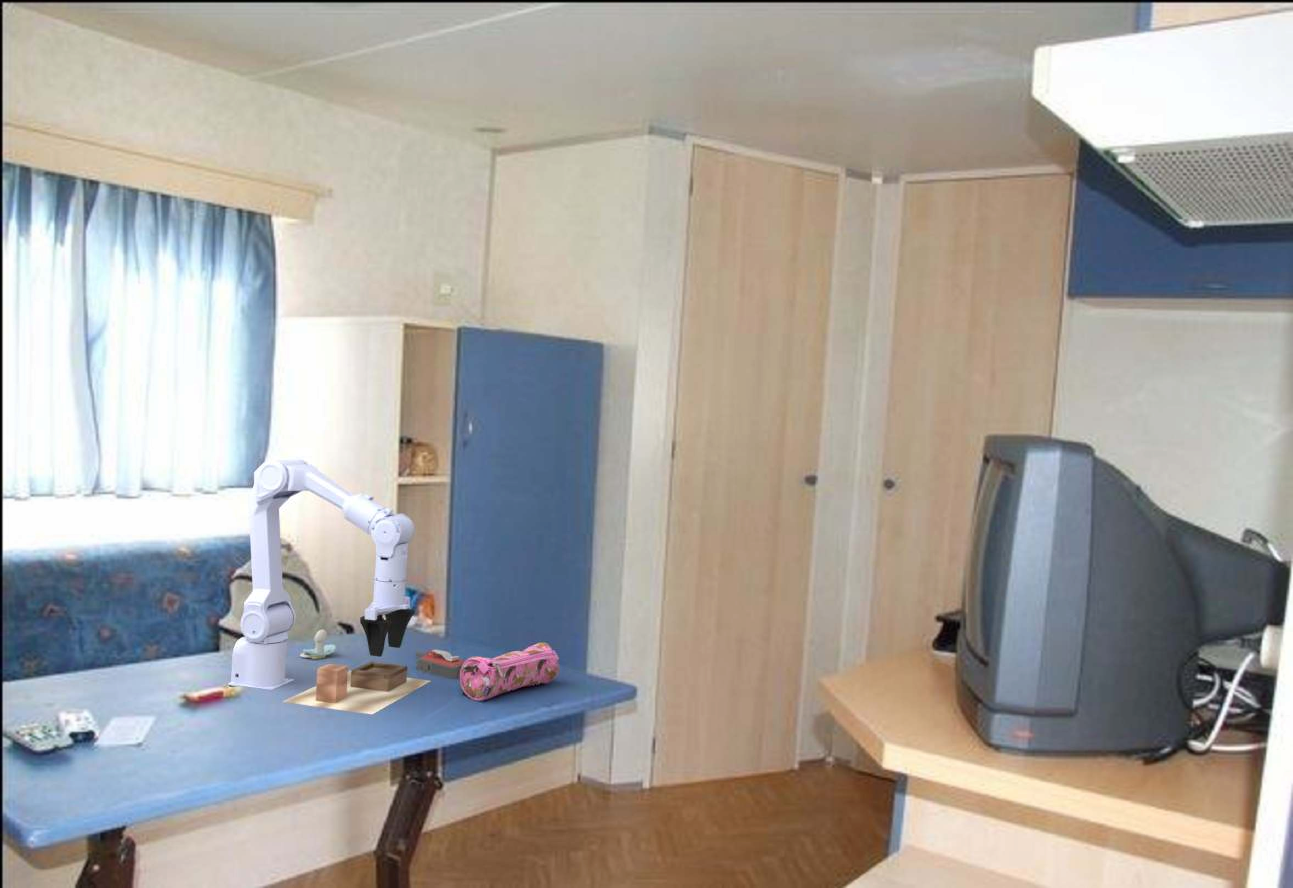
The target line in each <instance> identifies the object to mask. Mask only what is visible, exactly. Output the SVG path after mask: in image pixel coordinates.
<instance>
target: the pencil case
mask: <svg viewBox="0 0 1293 888" xmlns="http://www.w3.org/2000/svg"><path fill="white" fill-rule="evenodd" d="M559 660H560V658H559V656H558V654H557V653H556V651H555V650H553V649H552V647H551V646H550V645H549V644H548V643H547V642H538V643H535V644H534V645H531V646H527V648H525V649H520V650H514V651H510V652H507V653H504V654H501V655H498V656H496V657H493V658H490V657H484V656H483V657H482V656H478V655H476V656H471V657H469V658H468V659H466V660H464V661H465V662H464V664H463V665H462V667H461V670H460V679H459V684H460V688H461V690H462V692H463V693H464V694H465V695H466V696H467V697H468V698H469V699H471V700H473V701H476V700H477V701H476V702H482V701H484V700H490V699H491V698H494V697H496V696H500V695H502V694H504V693H507V692H512V691H515V690H517V689H520V688H523V687H532V686H535V684H536V685H541V684H540V683H545V684H548V683H550V682H552V681H553V680H554V679H556V678H557V676H558V675H559V673H560V663H559ZM531 685H532V686H531ZM511 690H512V691H511Z"/></svg>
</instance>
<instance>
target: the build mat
mask: <svg viewBox="0 0 1293 888" xmlns="http://www.w3.org/2000/svg"><path fill="white" fill-rule="evenodd" d="M407 675H408V666H407V665H400V664H392V663H386V662H385V663H384V662H377V661H369V662H367V663H365V664H363V665H361V666H358V667H356V668H354V669H352V670H351V669H350V670H348V678H347V694H346V698H345V699H343V700H341V701H339V702H337V703H328V702H321V701H316V687H317V685H315V686H313V687H311V688H308V689H307V690H304V691H303V692H300V693H298V694H296V695H294V696H293V695H292V696H291V697H289V698H287V699H285V700H283V701H282V703H289V704H296V705H301V706H309V707H316V708H323V709H329V710H330V709H331V710H336V711H337V710H339V711H343V712H344V711H345V712H351V713H352V712H353V713H358V714H359V713H360V714H366V715H367V714H368V715H374V714H376V713H377V712H380V711H381V710H382V709H384V708H386V707H389V706H391V705H392V704H393V703H395V702H397V701H399V700H401V699H403V698H404V697H406V696H408V695H410V694H412V693H413V692H414V691H417V690H418V689H420V688H421V687H423V686H425V685H427V684H429V683H431V682H432V680H428V679H427V680H426V679H420V678H419V679H418V678H413V677H412V678H411V677H408V676H407Z"/></svg>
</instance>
